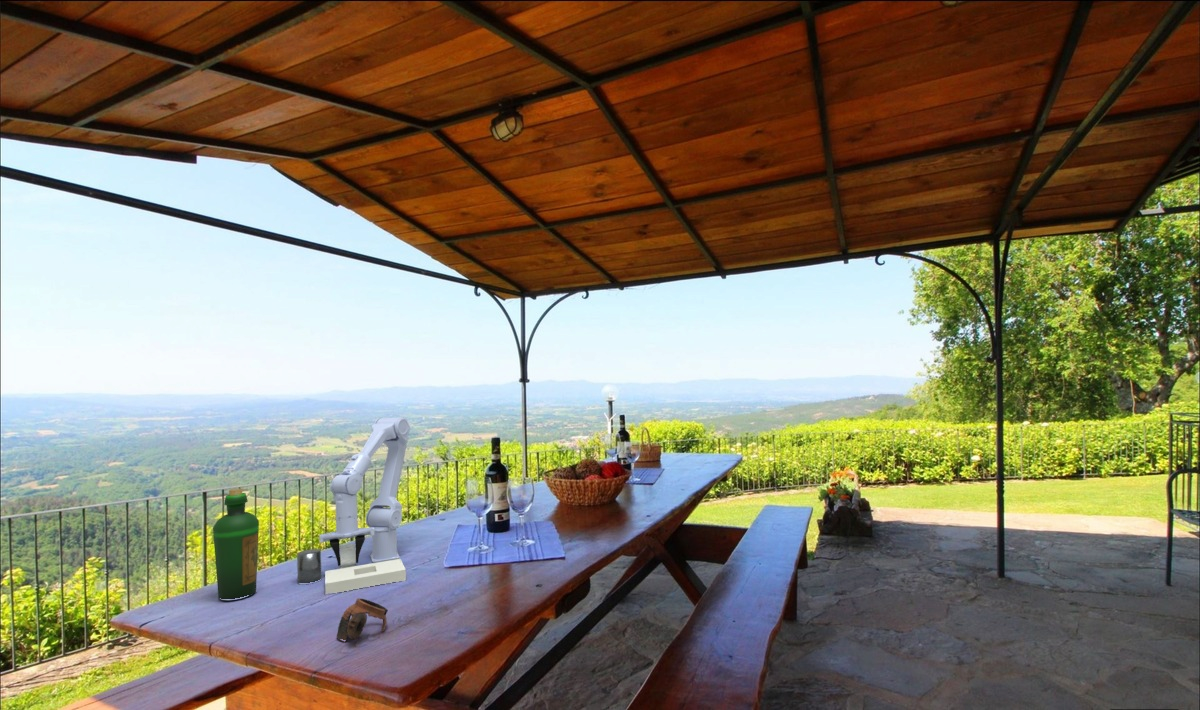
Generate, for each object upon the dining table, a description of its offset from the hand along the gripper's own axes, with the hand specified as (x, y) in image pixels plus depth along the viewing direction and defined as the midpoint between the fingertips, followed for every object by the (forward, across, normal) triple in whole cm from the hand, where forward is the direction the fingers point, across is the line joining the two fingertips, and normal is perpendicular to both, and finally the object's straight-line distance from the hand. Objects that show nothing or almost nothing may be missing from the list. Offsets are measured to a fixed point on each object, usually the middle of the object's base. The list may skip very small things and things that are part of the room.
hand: (348, 563), depth 168 cm
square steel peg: (+3, 0, 0) cm, 3 cm away
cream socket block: (+3, +4, -10) cm, 11 cm away
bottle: (+3, -27, -3) cm, 27 cm away
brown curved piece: (+3, +1, -48) cm, 48 cm away
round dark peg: (+3, -10, 0) cm, 10 cm away
